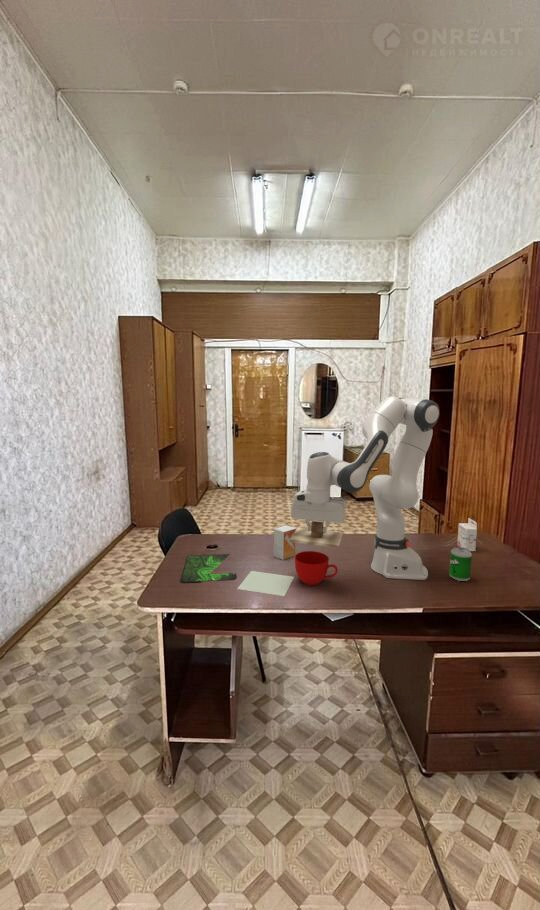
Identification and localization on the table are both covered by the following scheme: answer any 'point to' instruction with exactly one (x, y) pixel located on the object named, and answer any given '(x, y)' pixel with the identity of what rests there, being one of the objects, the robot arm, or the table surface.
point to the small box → (284, 542)
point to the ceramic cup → (312, 567)
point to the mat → (266, 583)
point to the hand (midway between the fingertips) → (317, 531)
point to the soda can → (460, 564)
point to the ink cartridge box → (467, 535)
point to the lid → (317, 536)
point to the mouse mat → (204, 569)
